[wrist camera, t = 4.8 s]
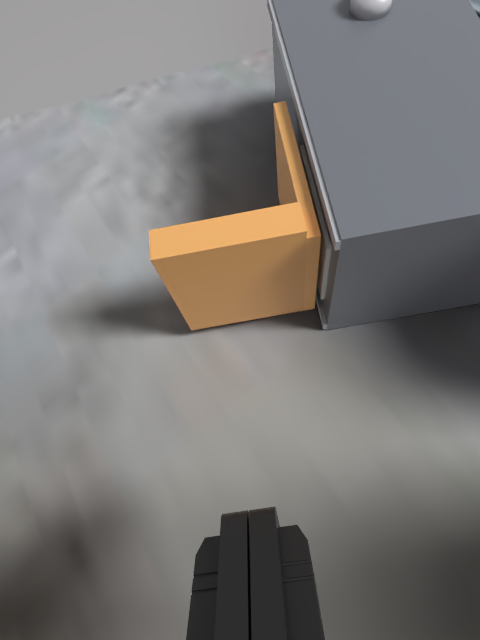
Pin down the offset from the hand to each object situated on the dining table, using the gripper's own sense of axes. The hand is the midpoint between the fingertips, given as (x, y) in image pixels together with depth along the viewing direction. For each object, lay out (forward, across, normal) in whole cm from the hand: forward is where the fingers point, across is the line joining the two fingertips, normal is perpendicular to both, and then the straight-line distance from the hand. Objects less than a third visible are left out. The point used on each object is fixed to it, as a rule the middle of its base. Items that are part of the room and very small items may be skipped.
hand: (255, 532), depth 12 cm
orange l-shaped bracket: (+16, 0, +4) cm, 17 cm away
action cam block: (+19, +9, +5) cm, 22 cm away
